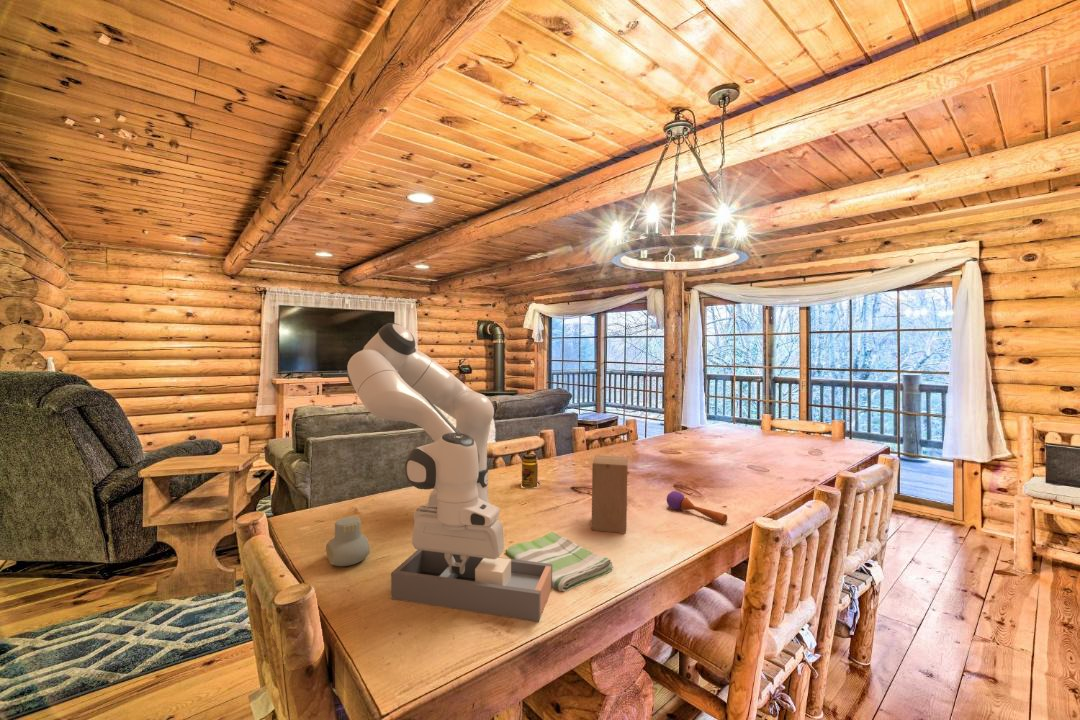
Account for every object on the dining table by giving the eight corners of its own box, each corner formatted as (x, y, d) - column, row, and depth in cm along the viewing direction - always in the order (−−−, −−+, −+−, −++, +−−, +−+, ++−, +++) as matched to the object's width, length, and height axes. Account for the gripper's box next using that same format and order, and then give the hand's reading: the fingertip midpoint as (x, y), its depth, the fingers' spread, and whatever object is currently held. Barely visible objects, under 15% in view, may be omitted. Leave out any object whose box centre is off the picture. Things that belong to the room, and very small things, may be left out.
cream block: (474, 587, 93) (475, 569, 93) (485, 573, 99) (485, 556, 99) (502, 591, 92) (502, 572, 92) (511, 577, 98) (511, 559, 97)
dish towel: (560, 596, 97) (560, 579, 97) (503, 555, 115) (503, 542, 115) (615, 572, 107) (615, 558, 107) (554, 539, 126) (554, 526, 126)
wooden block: (626, 534, 128) (627, 465, 128) (591, 530, 130) (592, 462, 130) (626, 520, 138) (627, 456, 138) (594, 518, 140) (595, 454, 140)
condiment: (520, 488, 169) (520, 457, 169) (521, 481, 177) (521, 451, 177) (539, 488, 169) (539, 457, 168) (539, 482, 177) (540, 452, 177)
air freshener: (372, 564, 109) (372, 523, 109) (336, 575, 104) (336, 532, 103) (358, 548, 117) (358, 510, 117) (324, 557, 112) (324, 518, 112)
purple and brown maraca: (719, 514, 134) (662, 492, 149) (719, 532, 135) (663, 508, 150) (729, 507, 138) (673, 486, 153) (729, 524, 139) (673, 501, 154)
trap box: (391, 598, 94) (391, 572, 94) (420, 570, 106) (420, 547, 106) (538, 621, 87) (539, 593, 87) (551, 588, 99) (552, 564, 99)
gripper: (406, 509, 96) (406, 573, 97) (497, 519, 91) (496, 586, 92) (421, 500, 102) (420, 560, 103) (506, 508, 98) (505, 571, 98)
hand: (457, 572), depth 97 cm, fingers closed
